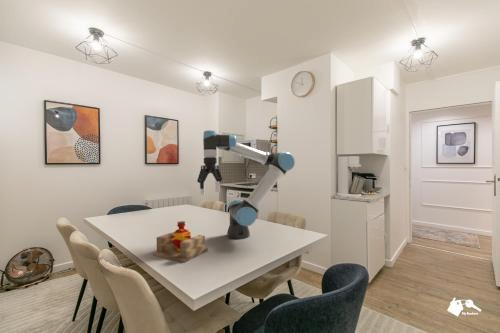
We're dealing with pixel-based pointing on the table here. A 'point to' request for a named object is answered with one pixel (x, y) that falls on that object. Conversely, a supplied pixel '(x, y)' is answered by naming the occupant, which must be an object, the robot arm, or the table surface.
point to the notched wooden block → (187, 248)
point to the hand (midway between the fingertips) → (210, 193)
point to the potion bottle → (180, 235)
